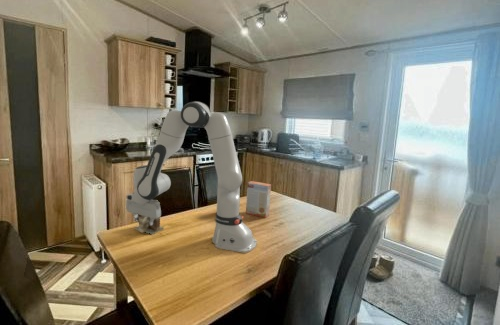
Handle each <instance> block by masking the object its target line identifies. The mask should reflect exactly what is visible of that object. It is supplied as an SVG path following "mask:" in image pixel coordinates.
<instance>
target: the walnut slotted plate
mask: <svg viewBox="0 0 500 325" xmlns="http://www.w3.org/2000/svg"><path fill="white" fill-rule="evenodd" d="M139 216H142V215H139V214H138V217H139ZM150 220H151V219H150ZM148 224H149V223H148ZM162 229H163V230H164V227H163V226H161V216H160V217H159V218H157V219H154V221H153V225H149V230H147V231H145V232H146V233H145V232H144V233H145V234H149V233H150V234H149V235H152V234H153V235H155V234H157V233H159V232H161V231H162ZM134 230H136V231H139V225H138V226H136V227H135V228H134ZM160 230H161V231H160ZM158 231H159V232H158ZM156 232H157V233H156ZM154 233H155V234H154Z"/></svg>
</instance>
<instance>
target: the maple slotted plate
mask: <svg viewBox="0 0 500 325" xmlns="http://www.w3.org/2000/svg"><path fill="white" fill-rule="evenodd" d="M138 217H139V221H138V226H139V230H138V232H139V233H141V234H142V233H145V231H147V230H149V225H148V222H149V221H150V217H146V216H139V215H138Z"/></svg>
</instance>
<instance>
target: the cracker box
mask: <svg viewBox="0 0 500 325" xmlns="http://www.w3.org/2000/svg"><path fill="white" fill-rule="evenodd" d="M246 188H247V190H246V205H245V209H246V210H245V214H247V215H251V216H255V217H260V218H264V219H266V218H267V217H269V215H270V206H271V205H270V204H271V193H272V192H271V191H272V184H270V183H264V182H261V181H254V180H251V181H248V182H247V187H246Z"/></svg>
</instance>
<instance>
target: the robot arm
mask: <svg viewBox="0 0 500 325" xmlns="http://www.w3.org/2000/svg"><path fill="white" fill-rule="evenodd" d="M189 127H191V128H201V129H202V128H203V129H204V130H206V134H207V137H208V141H209V145H210V146H209V147H210V150H211V153H212V158H213V163H214V167H215V172H216V176H217V192H216V194H217V197H216V199H217V200H216V212H215V220H214V221H215V228H214V233H213V236H212V237H211V238H212V239H211V240H212V243H213V244H214V245H215V248H216V249H221V250H224V251H225V250H228V251H232V252H239V253H245V254H246V253H249V252H251V251H253V250H254V249H255V248H256V246H257V244H258V242H257V241H258V240H257V239H256V238H254V235H253V231H252V230H251V229H250V228H249V226H247V225H246V224H245V223H244V222H243V219H244V215H242V216H241V215H240V200H241V199H240V198H241V196H240V192H241V189H240V187H241V185H242V183H243V182H242V181H243V176H242V175H243V174H242V171H241V166H240V162H239V158H238V154H237V150H236V147H235V143H234V142H235V141H234V137H233V133H232V130H231V127H230V123H229V121H228V119H227V116H226V115H225V113H222V112H211V108H210V107H209V105H208V104H206V103H204V102H201V101H190V102H188V103H186V104H184V106H183V107H182V108H181V110H176V109H174V110H173V109H172V110H169V111H168V112H167V114H166V116H165V118H164V120H163V122H162V125H161V129H160V133H159V135H158V139H157V141H156V144H155V145H154V148H153V150H152V152H151V155H150V157H149V159H148V162H147V165H140V166H137V167H135V168H134V171H133V185H134V186H133V187H134V189H133V192H132V193H129V194H127V195H126V196H125V198H126V201H125V207H126V208H125V209H126V212H128V213H131V214H132V216H133V218H134V219H133V220H134V222H139V215H142V216H146V217H150V219H151V220H150V221H149V222H148V223H149V224H148V225H153V221H154V219H157V218H159V217H160V218H161V216H162V210H161V205H160V204H161V203H160V202H159V201H158V200H157V199H155V198H156V197H158V196H159V195H162V194H163V193H164V192H167V191H168V190H169V189H170V188H171V186H172V180H171V178H170V176H169V175H168V174H166V173H163V172H161V171H162V168H163V166H164V164H165V162H166V161H167V160H168V159H169V158H170V157H171V156H172V155H173V156H174V154H176V153H177V152H179V151H180V148H182V145H183V143H184V139H185V136H186V132H187V130H188V128H189Z"/></svg>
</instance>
